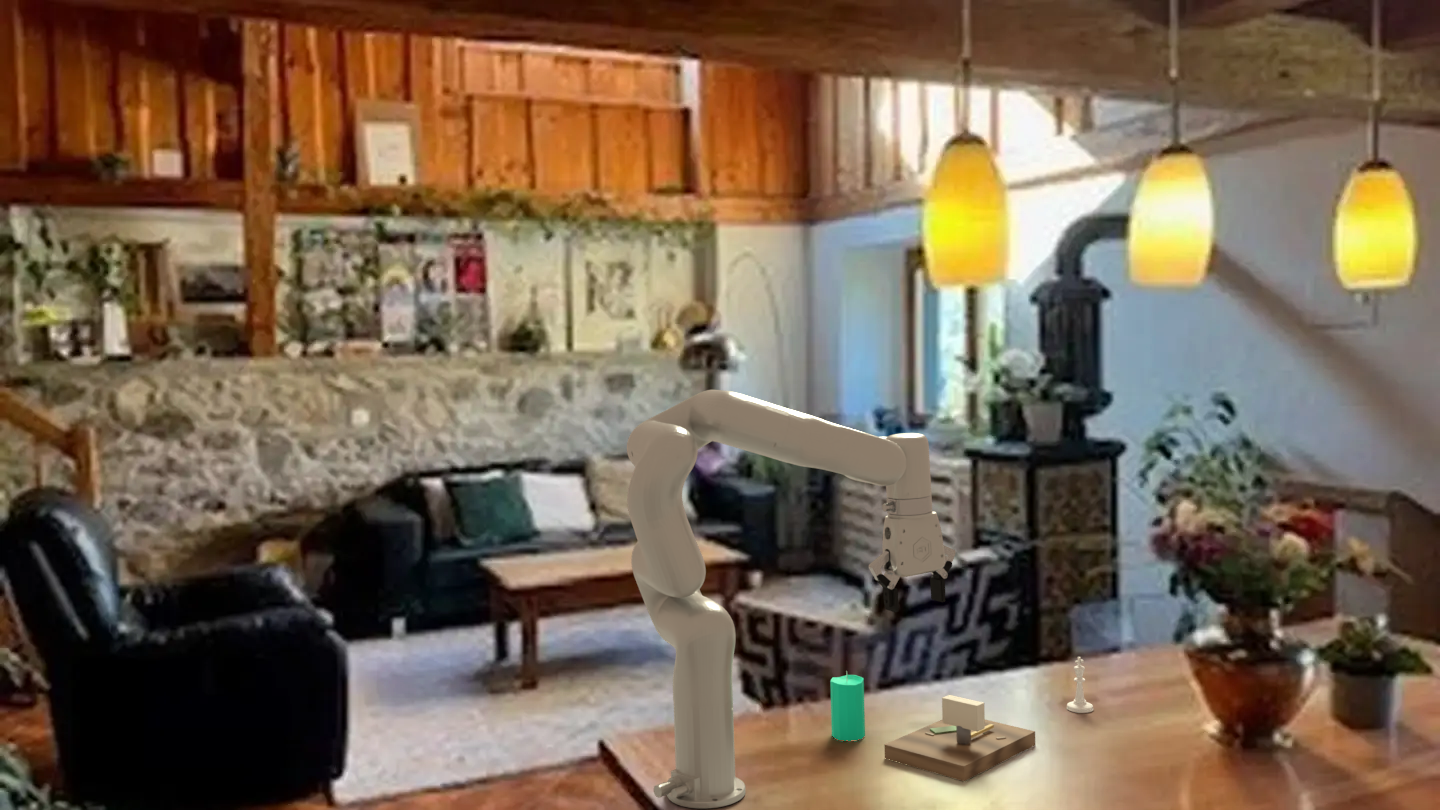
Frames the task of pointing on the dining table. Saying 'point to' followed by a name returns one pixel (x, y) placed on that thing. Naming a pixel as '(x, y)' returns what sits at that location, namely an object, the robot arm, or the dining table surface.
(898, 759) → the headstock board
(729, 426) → the robot arm
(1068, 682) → the dining table surface
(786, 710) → the dining table surface
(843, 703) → the candle
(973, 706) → the wooden toy mallet
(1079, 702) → the chess piece
